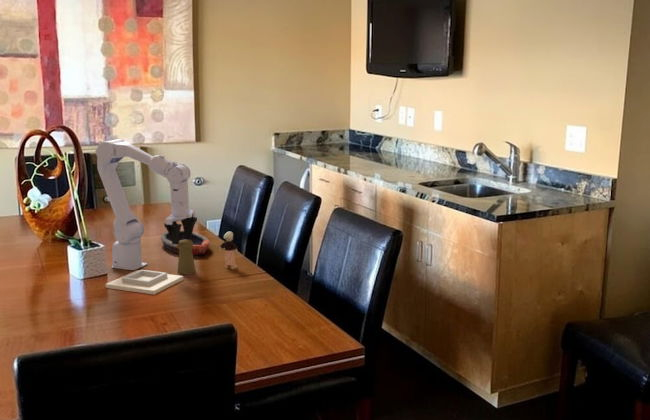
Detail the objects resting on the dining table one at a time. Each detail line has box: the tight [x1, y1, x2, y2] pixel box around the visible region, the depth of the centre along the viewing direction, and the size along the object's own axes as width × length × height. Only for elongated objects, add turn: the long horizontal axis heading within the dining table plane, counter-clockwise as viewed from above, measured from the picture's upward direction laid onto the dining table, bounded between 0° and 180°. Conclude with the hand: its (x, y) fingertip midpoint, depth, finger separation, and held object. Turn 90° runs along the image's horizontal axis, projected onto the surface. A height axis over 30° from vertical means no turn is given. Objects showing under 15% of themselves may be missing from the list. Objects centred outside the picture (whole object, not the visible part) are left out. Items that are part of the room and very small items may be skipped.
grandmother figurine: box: [219, 231, 239, 270], centre depth 233 cm, size 8×4×13 cm, turn 71°
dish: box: [160, 229, 211, 256], centre depth 258 cm, size 16×31×5 cm, turn 32°
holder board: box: [105, 269, 184, 295], centre depth 216 cm, size 18×16×3 cm
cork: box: [177, 239, 196, 275], centre depth 228 cm, size 6×6×11 cm
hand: (181, 241), depth 228 cm, fingers open, 7 cm apart
